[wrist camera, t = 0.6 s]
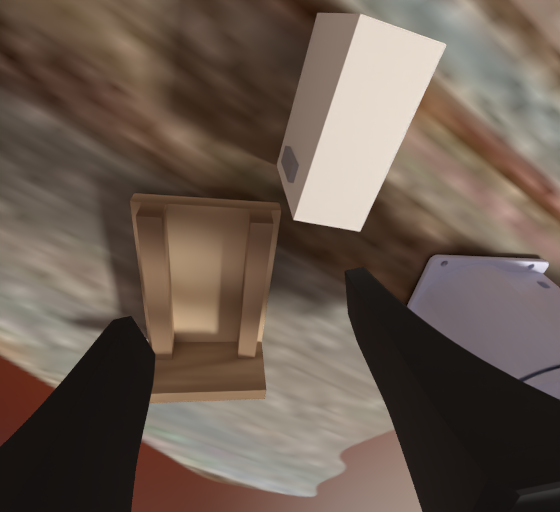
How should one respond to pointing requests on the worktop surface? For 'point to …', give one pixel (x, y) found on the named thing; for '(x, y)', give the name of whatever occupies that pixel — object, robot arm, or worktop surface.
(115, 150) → the worktop surface
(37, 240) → the worktop surface
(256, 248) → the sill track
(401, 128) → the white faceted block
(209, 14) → the worktop surface
